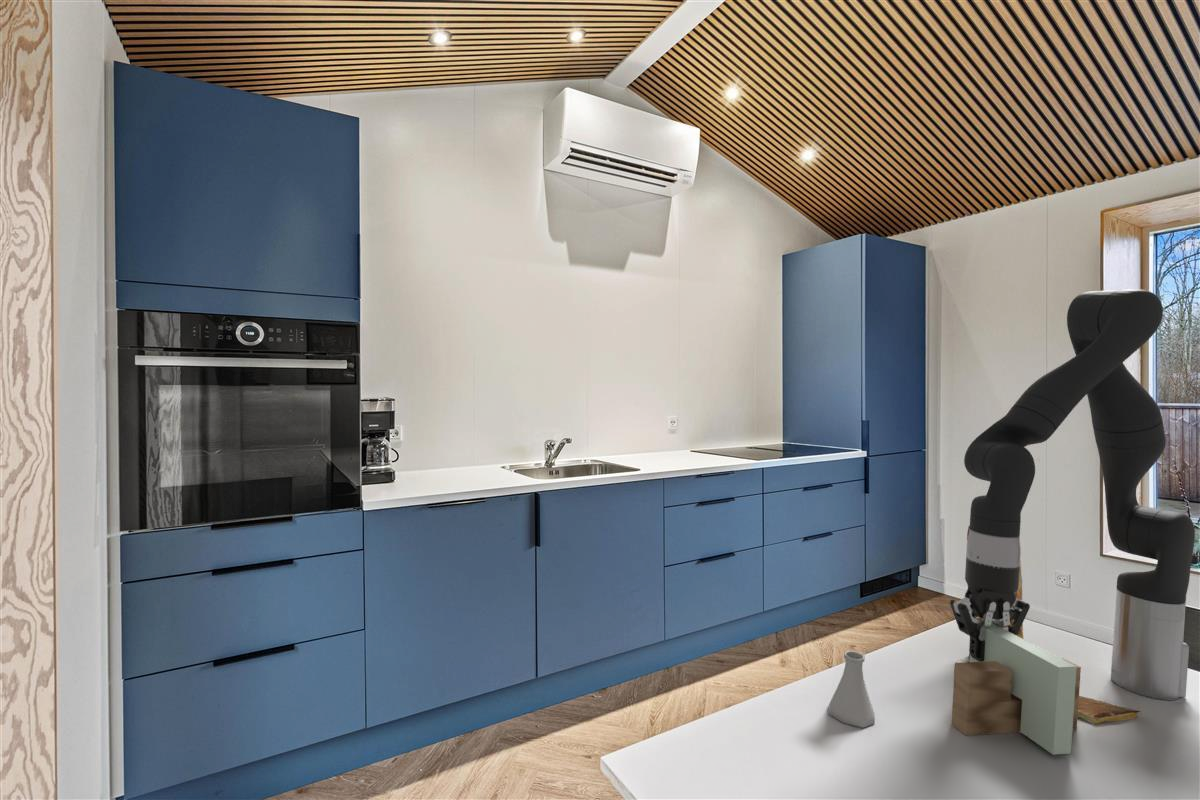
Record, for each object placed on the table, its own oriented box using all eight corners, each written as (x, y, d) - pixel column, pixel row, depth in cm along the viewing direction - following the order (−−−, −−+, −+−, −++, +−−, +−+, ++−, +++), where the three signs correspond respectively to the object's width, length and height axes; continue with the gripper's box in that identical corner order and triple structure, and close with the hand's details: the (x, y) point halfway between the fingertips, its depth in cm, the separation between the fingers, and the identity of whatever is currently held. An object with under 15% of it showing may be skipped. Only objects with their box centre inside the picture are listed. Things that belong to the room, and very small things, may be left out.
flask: (882, 715, 94) (885, 655, 93) (866, 734, 88) (870, 670, 88) (837, 697, 99) (840, 640, 98) (820, 714, 93) (823, 654, 93)
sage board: (1070, 753, 84) (1076, 666, 84) (1053, 754, 84) (1058, 667, 83) (982, 693, 100) (987, 620, 100) (967, 694, 100) (971, 621, 99)
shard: (1140, 719, 96) (1140, 709, 96) (1151, 742, 90) (1152, 731, 90) (1057, 698, 102) (1058, 688, 102) (1062, 718, 96) (1063, 707, 96)
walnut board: (1059, 717, 95) (1063, 658, 95) (1076, 728, 92) (1080, 667, 92) (951, 724, 92) (954, 662, 92) (965, 735, 89) (969, 672, 89)
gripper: (973, 566, 92) (967, 672, 93) (1048, 565, 94) (1042, 668, 95) (939, 552, 100) (933, 650, 100) (1009, 551, 102) (1004, 647, 102)
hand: (986, 658), depth 98 cm, fingers closed on sage board, 3 cm apart
